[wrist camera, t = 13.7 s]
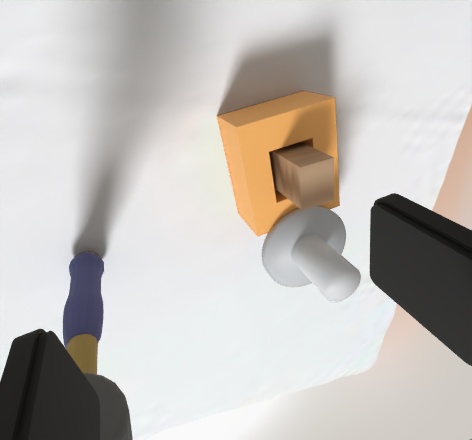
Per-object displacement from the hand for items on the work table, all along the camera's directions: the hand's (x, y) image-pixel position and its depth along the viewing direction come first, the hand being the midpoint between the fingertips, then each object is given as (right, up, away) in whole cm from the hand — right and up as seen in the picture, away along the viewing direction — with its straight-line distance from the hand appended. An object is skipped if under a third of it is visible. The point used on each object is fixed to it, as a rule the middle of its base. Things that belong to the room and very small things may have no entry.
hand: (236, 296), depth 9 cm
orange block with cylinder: (+6, +7, +39) cm, 39 cm away
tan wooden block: (+5, +11, +36) cm, 38 cm away
